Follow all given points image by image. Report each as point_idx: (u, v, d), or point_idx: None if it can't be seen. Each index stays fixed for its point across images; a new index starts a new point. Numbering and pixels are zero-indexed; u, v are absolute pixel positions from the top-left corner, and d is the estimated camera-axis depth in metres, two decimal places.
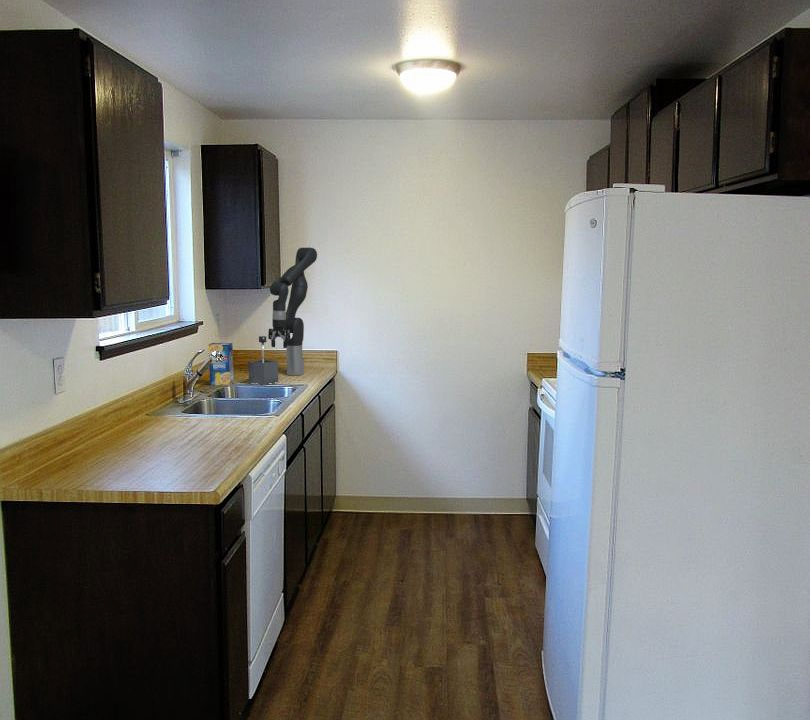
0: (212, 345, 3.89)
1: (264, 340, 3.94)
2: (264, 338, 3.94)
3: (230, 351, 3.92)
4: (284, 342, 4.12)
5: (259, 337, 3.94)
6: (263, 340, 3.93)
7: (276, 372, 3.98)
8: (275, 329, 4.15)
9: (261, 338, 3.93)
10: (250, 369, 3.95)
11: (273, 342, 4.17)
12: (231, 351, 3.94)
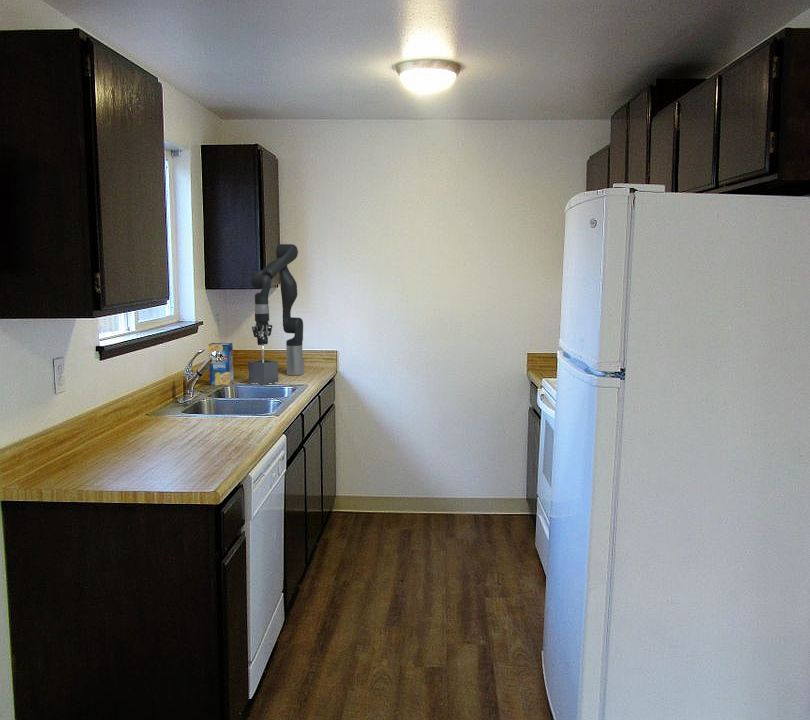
0: (212, 345, 3.89)
1: (264, 340, 3.94)
2: (264, 338, 3.94)
3: (230, 351, 3.92)
4: (267, 338, 3.97)
5: None
6: (263, 340, 3.93)
7: (276, 372, 3.98)
8: (261, 324, 3.92)
9: None
10: (250, 369, 3.95)
11: None
12: (231, 351, 3.94)
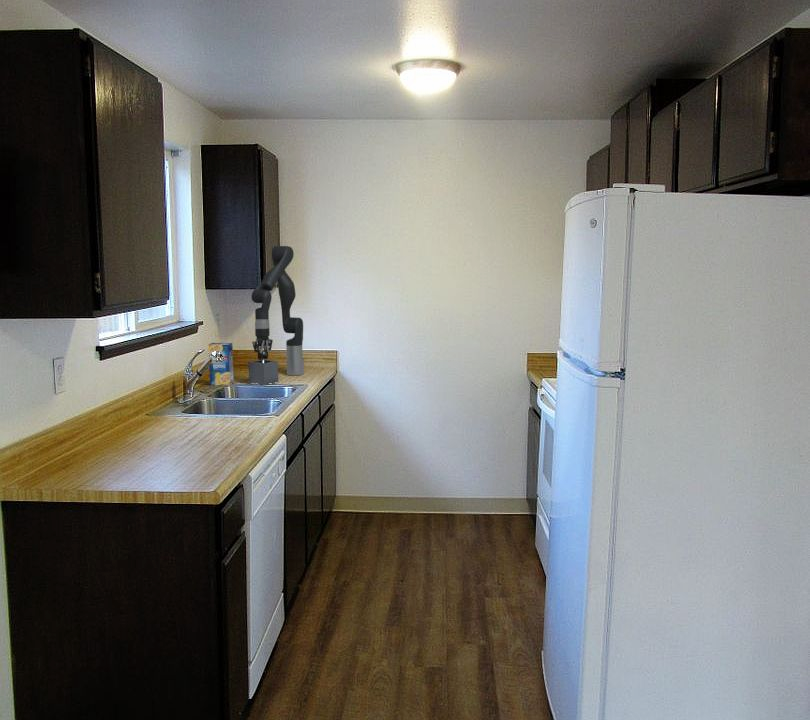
0: (212, 345, 3.89)
1: (264, 355, 3.95)
2: (264, 353, 3.95)
3: (230, 351, 3.92)
4: (267, 353, 3.98)
5: None
6: (263, 355, 3.95)
7: (276, 372, 3.98)
8: (261, 339, 3.93)
9: None
10: (250, 369, 3.95)
11: None
12: (231, 351, 3.94)
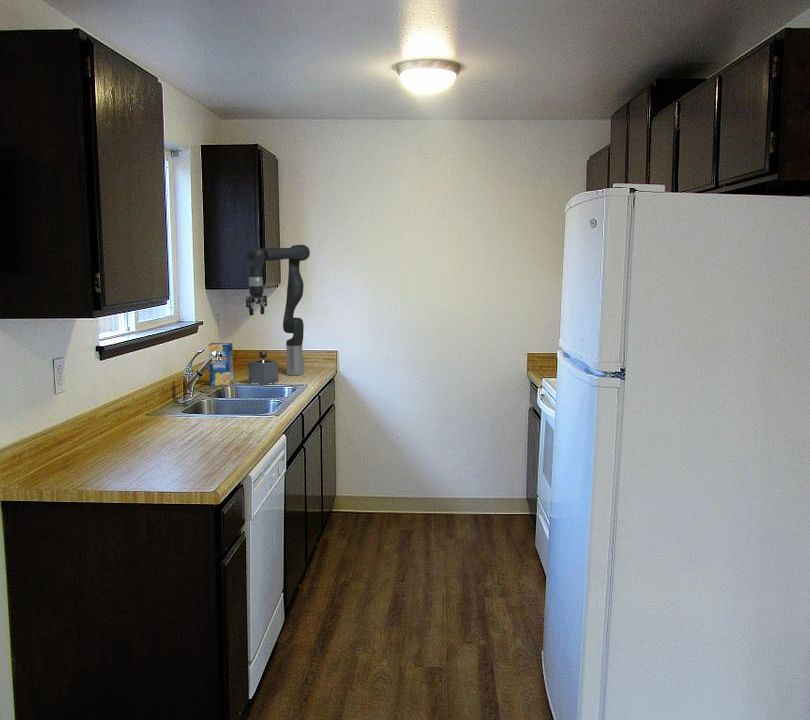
0: (212, 345, 3.89)
1: (264, 355, 3.95)
2: (264, 353, 3.95)
3: (230, 351, 3.92)
4: (263, 308, 4.10)
5: (259, 352, 3.95)
6: (263, 355, 3.95)
7: (276, 372, 3.98)
8: (255, 296, 4.04)
9: (261, 353, 3.94)
10: (250, 369, 3.95)
11: None
12: (231, 351, 3.94)
